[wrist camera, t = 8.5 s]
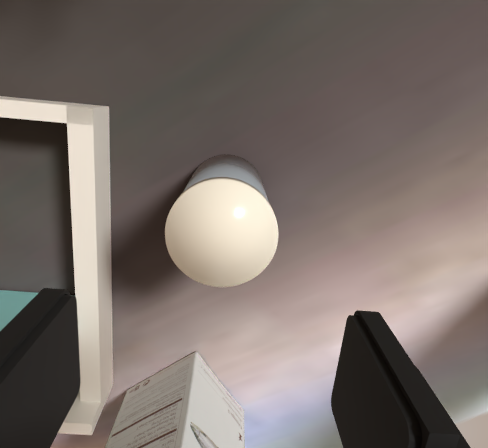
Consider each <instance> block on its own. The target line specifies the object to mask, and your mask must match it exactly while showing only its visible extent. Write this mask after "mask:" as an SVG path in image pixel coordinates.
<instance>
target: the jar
mask: <svg viewBox="0 0 488 448" xmlns="http://www.w3.org/2000/svg"><path fill="white" fill-rule="evenodd" d="M165 241H166V246H167V249H168V252H169V254H170V256H171V258H172V260H173V261H174V263H175V264H176V266H177V267H178V268H179V269H180V270H181V271H182V272H183V273H184V274H185V275H187V276H188V277H190V278H191V279H193V280H195V281H197V282H199V283H202V284H205V285H209V286H214V287H231V286H236V285H240V284H243V283H245V282H247V281H249V280H251V279H253V278H254V277H256V276H257V275H259V274H260V273H261V272H262V271H263V270H264V269H265V268H266V267H267V266H268V264H269V263H270V261H271V260H272V258H273V256H274V254H275V251H276V248H277V243H278V225H277V221H276V217H275V214H274V212H273V209H272V207H271V205H270V203H269V202H268V198H267V195H266V192H265V189H264V185H263V182H262V179H261V177H260V175H259V173H258V171H257V170H256V168H255V167H254V166H253V165H252V164H251V163H249V162H248V161H246V160H245V159H243V158H241V157H238V156H235V155H218V156H214V157H211V158H209V159H207V160H206V161H204V162H203V163H202V164H201V165H199V166H198V168H197V169H196V170H195V172H194V173H193V175H192V177H191V179H190V181H189V182H188V184H187V186H186V188H185V190H184V191H183V193H182V194H181V195H180V196H179V197H178V199H177V200H176V201H175V203H174V205H173V207H172V208H171V210H170V212H169V215H168V217H167V221H166V225H165Z"/></svg>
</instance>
